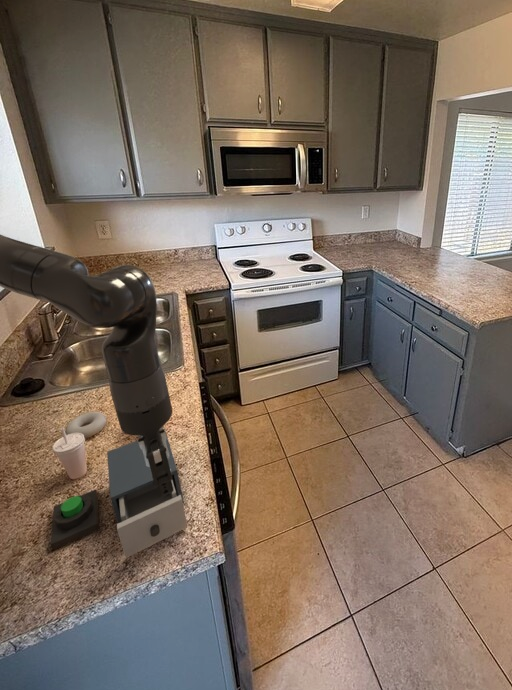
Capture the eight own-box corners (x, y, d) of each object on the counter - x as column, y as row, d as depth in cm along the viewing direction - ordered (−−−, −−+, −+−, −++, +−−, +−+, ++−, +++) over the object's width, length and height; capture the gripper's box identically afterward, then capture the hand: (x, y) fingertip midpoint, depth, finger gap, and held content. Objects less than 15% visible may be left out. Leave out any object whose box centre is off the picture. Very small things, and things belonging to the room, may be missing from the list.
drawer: (189, 531, 73) (183, 503, 70) (126, 564, 67) (117, 534, 64) (174, 481, 84) (169, 455, 82) (120, 505, 79) (112, 478, 76)
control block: (99, 529, 74) (95, 517, 73) (52, 550, 70) (47, 538, 69) (98, 494, 82) (94, 483, 81) (55, 512, 78) (51, 500, 77)
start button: (83, 511, 75) (81, 505, 74) (62, 520, 73) (60, 514, 73) (83, 499, 78) (81, 493, 77) (63, 507, 76) (61, 501, 75)
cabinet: (183, 502, 80) (177, 469, 77) (120, 532, 74) (110, 498, 71) (171, 460, 92) (165, 430, 88) (115, 483, 85) (107, 451, 82)
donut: (72, 448, 97) (112, 428, 103) (68, 438, 95) (109, 419, 102) (63, 431, 103) (101, 413, 110) (59, 421, 102) (98, 404, 109)
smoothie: (57, 485, 85) (40, 438, 80) (70, 464, 91) (56, 419, 86) (86, 481, 86) (71, 434, 81) (97, 461, 92) (84, 416, 87)
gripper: (110, 381, 59) (132, 458, 64) (117, 431, 47) (143, 520, 53) (159, 367, 62) (175, 441, 68) (176, 410, 51) (194, 494, 57)
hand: (161, 475), depth 60 cm, fingers open, 8 cm apart
